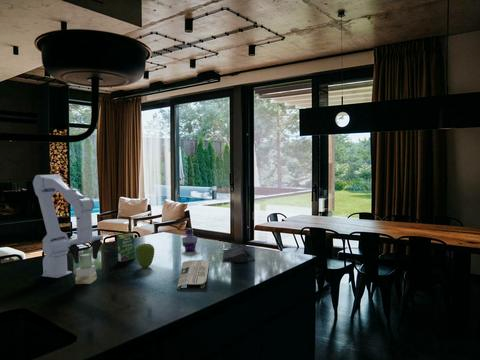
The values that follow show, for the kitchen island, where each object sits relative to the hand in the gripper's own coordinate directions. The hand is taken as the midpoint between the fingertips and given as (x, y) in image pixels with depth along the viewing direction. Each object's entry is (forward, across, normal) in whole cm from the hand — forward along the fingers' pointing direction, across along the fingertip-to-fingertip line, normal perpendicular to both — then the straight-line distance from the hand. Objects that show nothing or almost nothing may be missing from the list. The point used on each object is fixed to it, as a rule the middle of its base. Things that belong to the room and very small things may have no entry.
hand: (86, 260), depth 149 cm
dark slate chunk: (+9, +65, -24) cm, 70 cm away
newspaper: (+9, +32, -30) cm, 45 cm away
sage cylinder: (+3, 0, 0) cm, 3 cm away
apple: (+9, +26, -3) cm, 27 cm away
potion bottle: (+9, +59, +4) cm, 60 cm away
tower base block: (+9, 0, 0) cm, 9 cm away
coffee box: (+9, +27, +15) cm, 33 cm away
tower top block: (+6, 0, 0) cm, 6 cm away
